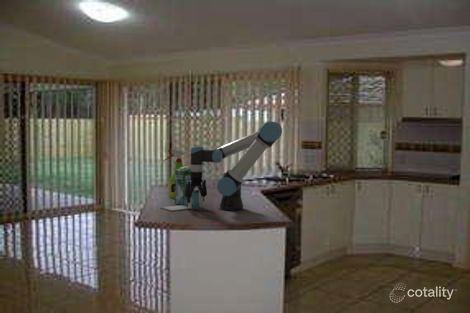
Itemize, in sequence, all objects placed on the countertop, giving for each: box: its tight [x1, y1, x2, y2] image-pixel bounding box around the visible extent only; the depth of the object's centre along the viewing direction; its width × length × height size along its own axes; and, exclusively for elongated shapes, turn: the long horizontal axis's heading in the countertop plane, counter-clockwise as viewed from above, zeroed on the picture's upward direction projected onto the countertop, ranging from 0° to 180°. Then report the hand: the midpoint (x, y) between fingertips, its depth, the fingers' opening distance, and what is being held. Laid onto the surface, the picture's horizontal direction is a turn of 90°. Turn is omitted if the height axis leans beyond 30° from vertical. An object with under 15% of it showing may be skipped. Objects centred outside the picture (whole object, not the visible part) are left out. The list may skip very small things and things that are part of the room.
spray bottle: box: [163, 148, 185, 200], centre depth 366 cm, size 14×18×35 cm
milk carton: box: [174, 165, 193, 206], centre depth 339 cm, size 9×9×25 cm
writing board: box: [159, 204, 193, 212], centre depth 321 cm, size 18×13×1 cm
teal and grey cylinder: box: [192, 189, 200, 211], centre depth 316 cm, size 4×4×13 cm
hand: (195, 207), depth 316 cm, fingers open, 8 cm apart
